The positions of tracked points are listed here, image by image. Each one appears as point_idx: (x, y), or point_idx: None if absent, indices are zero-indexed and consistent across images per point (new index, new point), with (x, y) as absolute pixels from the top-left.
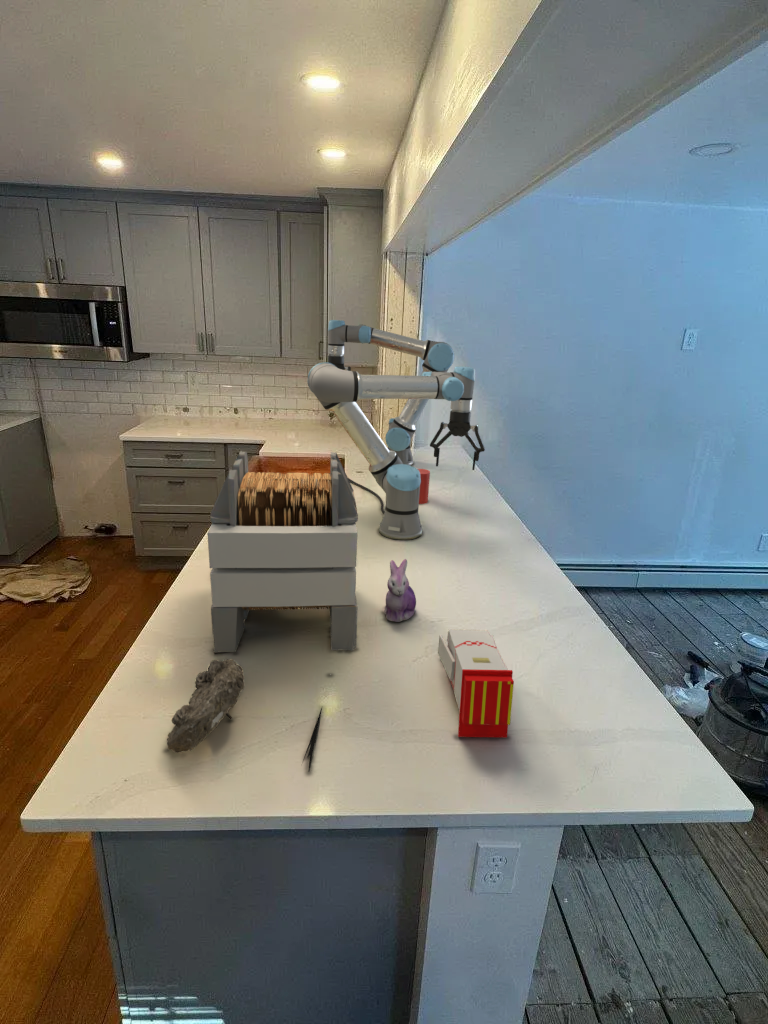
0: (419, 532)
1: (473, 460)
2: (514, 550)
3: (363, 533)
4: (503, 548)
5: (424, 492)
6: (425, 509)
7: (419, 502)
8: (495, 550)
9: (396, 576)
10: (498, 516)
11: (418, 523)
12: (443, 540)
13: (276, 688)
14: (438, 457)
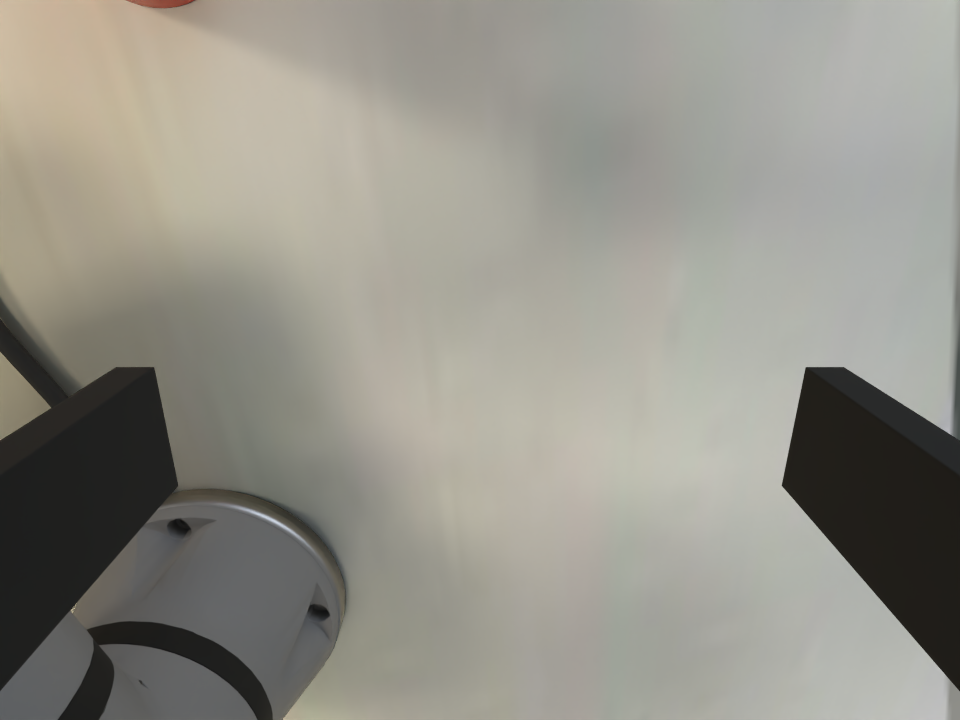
0: (333, 645)
1: (893, 613)
2: (830, 655)
3: None
4: (777, 647)
5: None
6: (268, 138)
7: (175, 2)
8: (731, 675)
9: None
10: (867, 132)
11: (309, 678)
12: (469, 628)
13: None
14: (73, 604)
